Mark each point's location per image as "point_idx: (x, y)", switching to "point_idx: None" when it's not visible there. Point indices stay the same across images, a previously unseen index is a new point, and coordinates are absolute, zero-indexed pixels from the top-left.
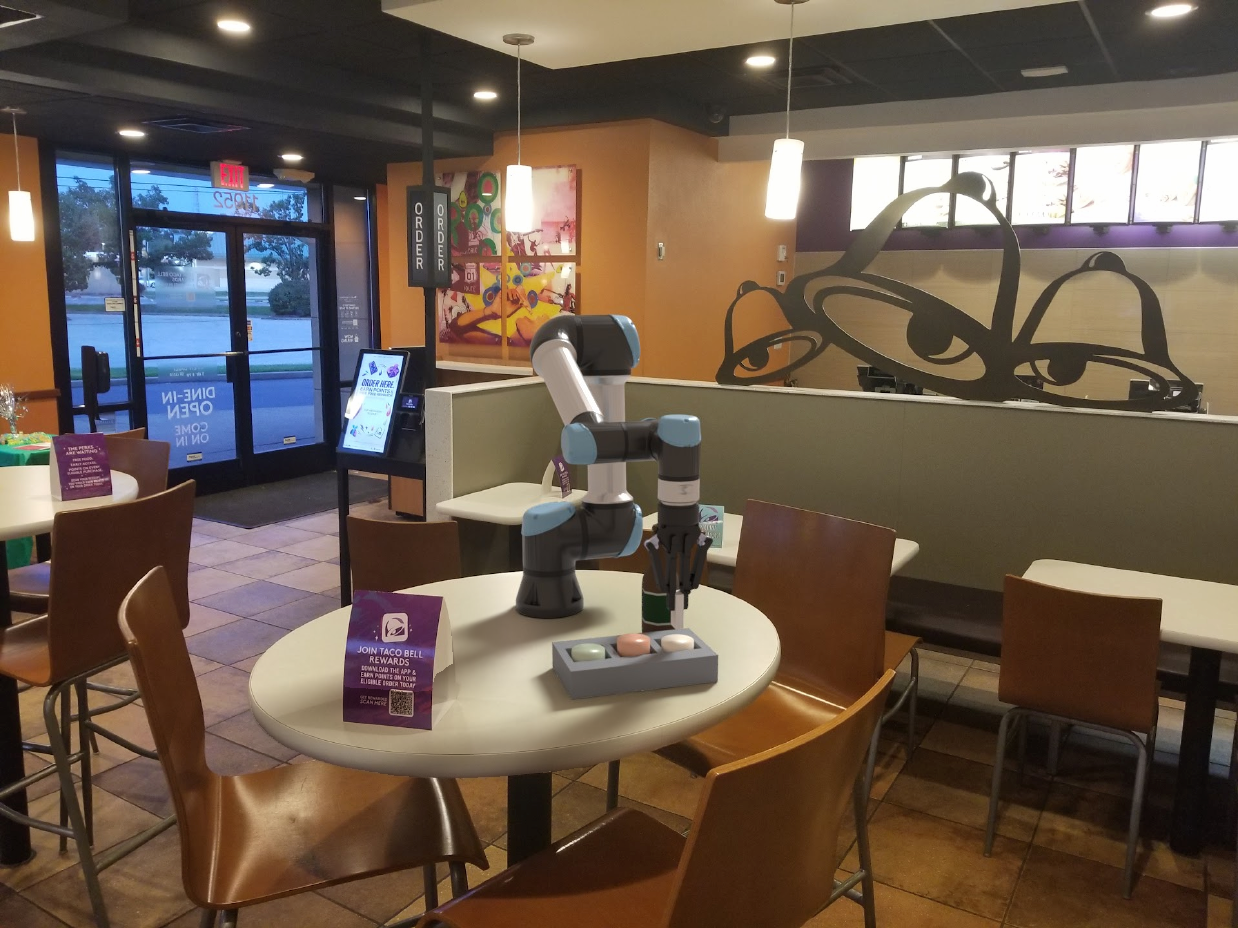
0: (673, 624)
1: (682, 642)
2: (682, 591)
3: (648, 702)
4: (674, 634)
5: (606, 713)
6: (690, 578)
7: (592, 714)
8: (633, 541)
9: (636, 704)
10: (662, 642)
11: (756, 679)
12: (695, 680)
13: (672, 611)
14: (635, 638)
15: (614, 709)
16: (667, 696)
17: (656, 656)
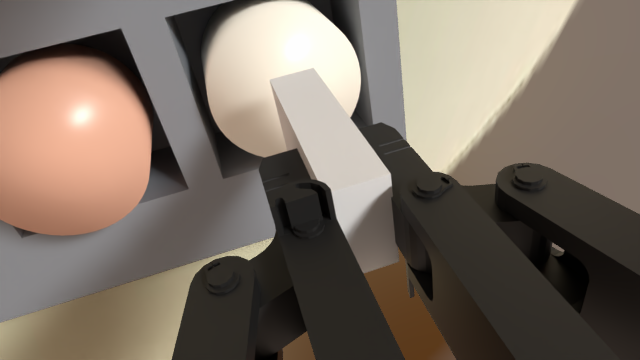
0: (282, 126)
1: None
2: (402, 251)
3: (160, 281)
4: (281, 13)
5: (45, 344)
6: (541, 230)
7: (4, 354)
8: None
9: (125, 294)
10: (212, 114)
11: (482, 129)
12: None
13: (293, 143)
14: (67, 160)
15: (64, 324)
16: None
17: (183, 219)
